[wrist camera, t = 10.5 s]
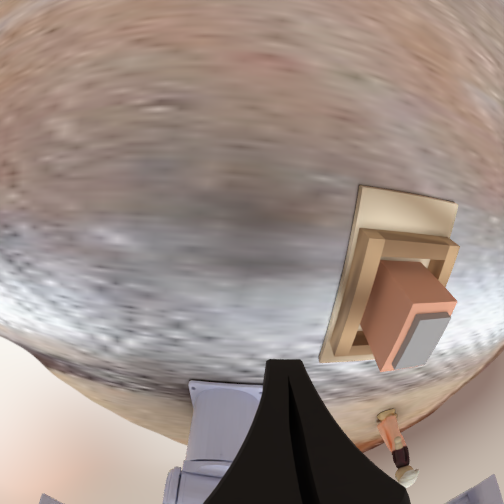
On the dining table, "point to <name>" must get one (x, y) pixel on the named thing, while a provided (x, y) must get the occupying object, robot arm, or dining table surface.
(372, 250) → the frame
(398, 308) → the salmon block
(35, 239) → the dining table surface
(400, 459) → the grandmother figurine
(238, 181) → the dining table surface
